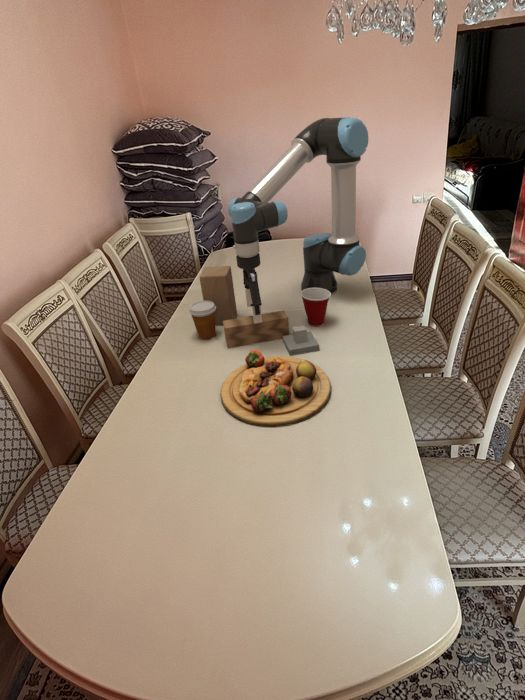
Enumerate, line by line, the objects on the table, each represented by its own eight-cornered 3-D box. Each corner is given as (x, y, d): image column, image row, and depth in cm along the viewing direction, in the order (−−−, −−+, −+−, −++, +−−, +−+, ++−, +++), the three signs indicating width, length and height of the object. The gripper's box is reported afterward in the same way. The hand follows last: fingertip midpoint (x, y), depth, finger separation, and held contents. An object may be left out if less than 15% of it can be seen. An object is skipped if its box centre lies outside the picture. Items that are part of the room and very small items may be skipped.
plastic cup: (333, 328, 160) (332, 297, 154) (302, 330, 161) (300, 299, 155) (330, 315, 169) (329, 285, 163) (301, 317, 170) (299, 287, 164)
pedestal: (310, 336, 157) (309, 319, 154) (319, 350, 148) (318, 332, 145) (282, 341, 156) (281, 324, 152) (289, 355, 147) (288, 338, 144)
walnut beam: (285, 330, 163) (284, 310, 159) (289, 337, 158) (288, 317, 154) (225, 340, 160) (222, 320, 156) (227, 348, 155) (224, 328, 151)
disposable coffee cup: (189, 340, 163) (183, 310, 157) (202, 328, 170) (197, 299, 164) (212, 343, 159) (207, 312, 153) (224, 330, 166) (220, 301, 160)
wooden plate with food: (215, 372, 143) (211, 350, 139) (312, 353, 147) (311, 331, 142) (229, 440, 116) (224, 415, 112) (347, 414, 120) (347, 390, 115)
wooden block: (237, 313, 178) (230, 265, 168) (233, 325, 170) (226, 275, 160) (212, 314, 180) (204, 266, 170) (207, 326, 171) (198, 276, 161)
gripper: (230, 244, 153) (238, 301, 164) (242, 268, 132) (249, 332, 143) (252, 241, 154) (258, 298, 165) (267, 264, 133) (272, 328, 144)
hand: (254, 314), depth 154 cm, fingers open, 13 cm apart
